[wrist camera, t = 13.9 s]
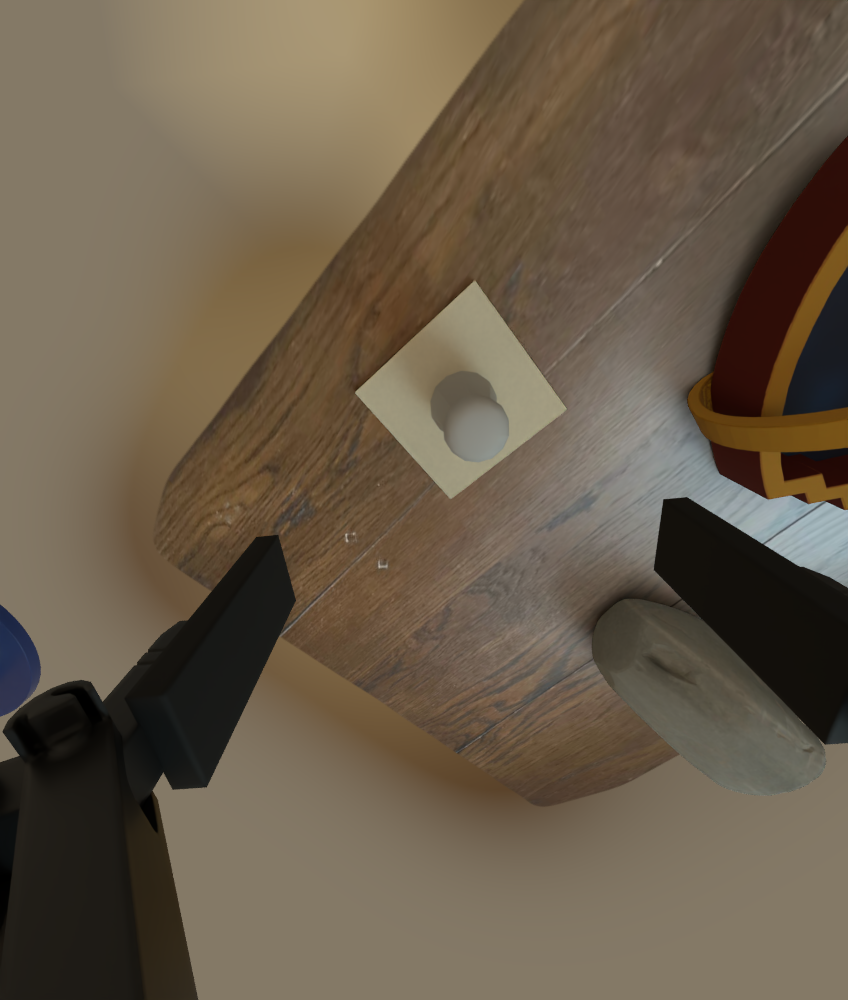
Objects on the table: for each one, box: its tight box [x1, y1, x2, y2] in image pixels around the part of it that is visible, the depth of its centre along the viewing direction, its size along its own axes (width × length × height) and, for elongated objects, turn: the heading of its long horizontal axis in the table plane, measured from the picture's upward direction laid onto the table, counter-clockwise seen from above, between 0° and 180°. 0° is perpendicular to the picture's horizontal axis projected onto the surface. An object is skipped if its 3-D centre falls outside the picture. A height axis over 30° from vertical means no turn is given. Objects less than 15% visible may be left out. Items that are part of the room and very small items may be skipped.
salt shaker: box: [430, 371, 509, 462], centre depth 31 cm, size 6×6×13 cm
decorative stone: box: [592, 599, 826, 795], centre depth 41 cm, size 12×17×15 cm
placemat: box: [355, 280, 567, 499], centre depth 37 cm, size 14×14×1 cm
